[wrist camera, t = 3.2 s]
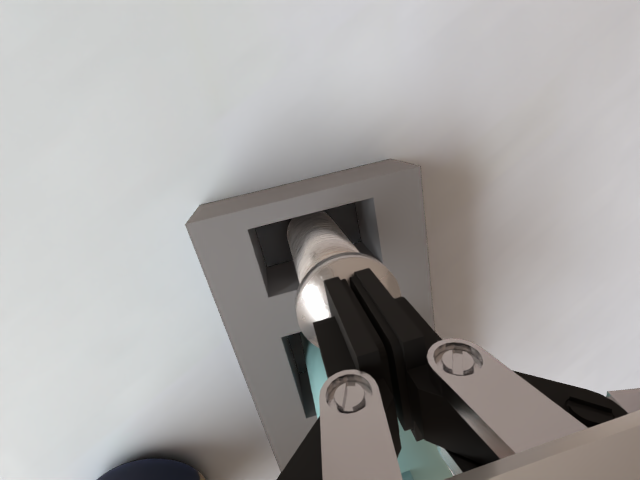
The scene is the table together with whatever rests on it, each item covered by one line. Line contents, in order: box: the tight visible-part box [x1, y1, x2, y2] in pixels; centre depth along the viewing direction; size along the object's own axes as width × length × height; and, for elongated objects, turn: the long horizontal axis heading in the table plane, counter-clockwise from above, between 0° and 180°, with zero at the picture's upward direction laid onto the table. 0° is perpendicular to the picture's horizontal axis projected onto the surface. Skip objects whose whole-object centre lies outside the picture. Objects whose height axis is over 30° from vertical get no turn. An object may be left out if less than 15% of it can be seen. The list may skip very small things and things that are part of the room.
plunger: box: [287, 211, 401, 348], centre depth 15 cm, size 4×4×9 cm
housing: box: [185, 159, 437, 472], centre depth 21 cm, size 22×12×4 cm, turn 12°
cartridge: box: [300, 331, 453, 480], centre depth 17 cm, size 5×5×13 cm
